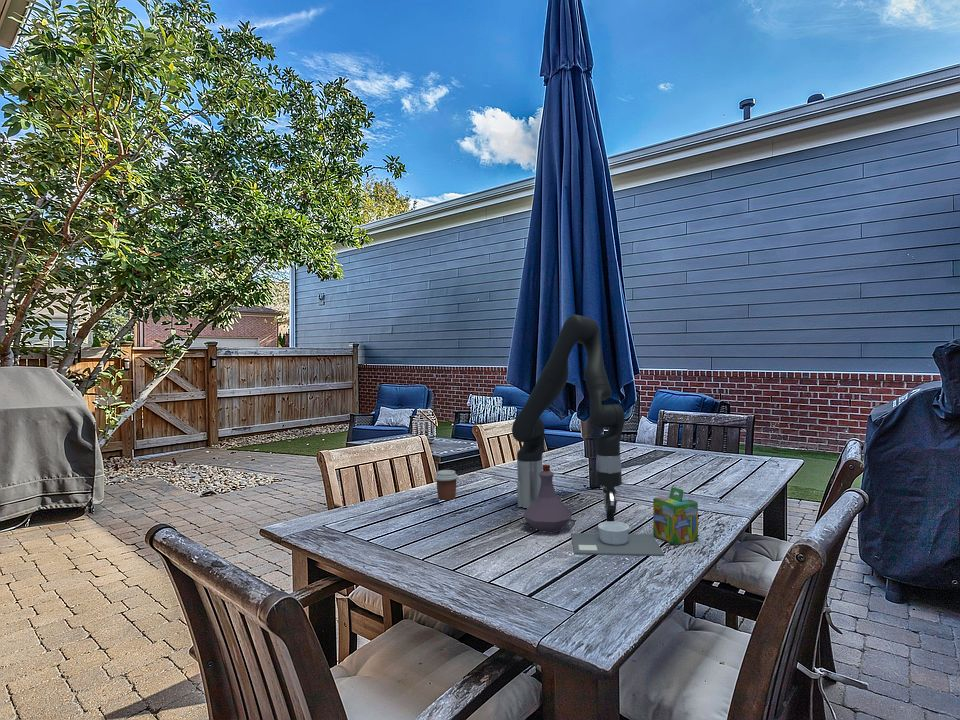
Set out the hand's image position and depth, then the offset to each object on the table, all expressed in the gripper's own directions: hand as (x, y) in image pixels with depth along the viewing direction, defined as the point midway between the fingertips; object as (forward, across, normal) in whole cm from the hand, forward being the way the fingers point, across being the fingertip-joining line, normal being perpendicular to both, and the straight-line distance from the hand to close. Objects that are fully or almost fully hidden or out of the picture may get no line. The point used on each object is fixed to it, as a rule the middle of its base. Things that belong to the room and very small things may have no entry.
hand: (610, 525), depth 157 cm
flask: (+2, -3, -19) cm, 20 cm away
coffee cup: (+2, -30, -57) cm, 65 cm away
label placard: (+2, +11, 0) cm, 11 cm away
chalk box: (+2, +5, +18) cm, 19 cm away
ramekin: (+2, +9, 0) cm, 9 cm away
